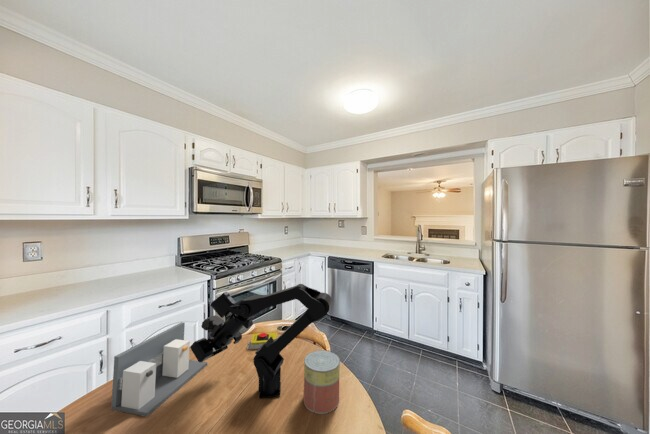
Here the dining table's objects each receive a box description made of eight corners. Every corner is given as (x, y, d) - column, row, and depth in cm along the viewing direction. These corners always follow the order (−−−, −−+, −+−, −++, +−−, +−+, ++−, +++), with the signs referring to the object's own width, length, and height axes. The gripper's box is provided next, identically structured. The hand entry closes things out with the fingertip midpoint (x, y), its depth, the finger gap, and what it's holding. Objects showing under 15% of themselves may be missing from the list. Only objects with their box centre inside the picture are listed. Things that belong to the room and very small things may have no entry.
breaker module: (190, 369, 83) (191, 341, 83) (179, 378, 78) (180, 348, 78) (174, 366, 84) (175, 339, 84) (162, 375, 79) (163, 346, 79)
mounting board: (207, 364, 88) (208, 325, 88) (147, 416, 63) (149, 361, 64) (179, 361, 90) (181, 322, 90) (111, 409, 66) (114, 356, 66)
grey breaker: (156, 397, 69) (158, 363, 70) (140, 410, 65) (142, 373, 65) (138, 393, 71) (140, 360, 71) (121, 406, 66) (123, 370, 66)
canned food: (335, 385, 78) (335, 349, 78) (343, 411, 67) (344, 369, 67) (302, 388, 76) (302, 351, 76) (305, 416, 65) (305, 372, 65)
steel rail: (183, 348, 89) (184, 340, 89) (121, 390, 66) (121, 379, 66) (181, 348, 89) (181, 340, 89) (118, 389, 66) (119, 379, 66)
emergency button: (249, 331, 108) (281, 329, 111) (249, 340, 108) (281, 338, 111) (246, 340, 99) (281, 338, 102) (246, 351, 99) (281, 348, 102)
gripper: (236, 303, 89) (212, 331, 91) (197, 315, 72) (167, 349, 73) (253, 326, 86) (227, 355, 87) (216, 344, 68) (184, 380, 69)
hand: (204, 358), depth 79 cm, fingers closed
